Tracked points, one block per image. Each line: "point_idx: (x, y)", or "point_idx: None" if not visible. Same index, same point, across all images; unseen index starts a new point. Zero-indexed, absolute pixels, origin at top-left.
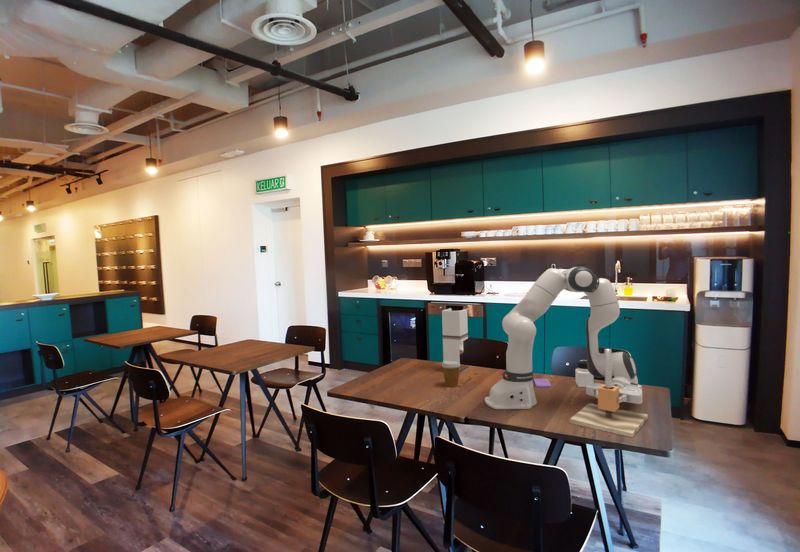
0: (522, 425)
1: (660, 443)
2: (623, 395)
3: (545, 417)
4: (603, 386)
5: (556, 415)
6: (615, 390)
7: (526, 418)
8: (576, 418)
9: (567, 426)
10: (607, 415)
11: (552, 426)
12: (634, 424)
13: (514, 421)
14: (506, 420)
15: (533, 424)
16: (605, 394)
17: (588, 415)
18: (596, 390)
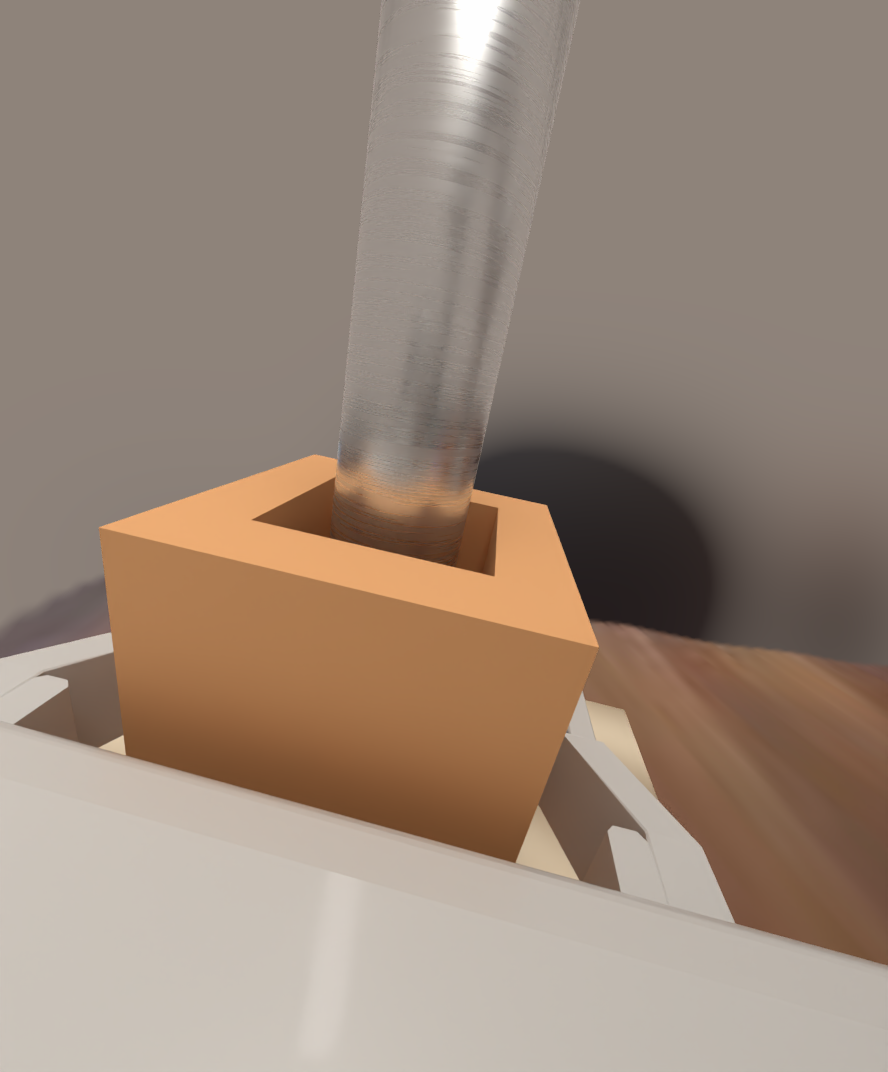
0: (739, 649)
1: (76, 604)
2: (37, 683)
3: (800, 778)
4: (504, 544)
5: (810, 860)
6: (293, 464)
7: (832, 725)
8: (597, 732)
9: (590, 683)
10: None
11: (645, 666)
12: (101, 747)
13: (809, 676)
14: (840, 678)
15: (723, 666)
16: None
17: (558, 846)
18: (716, 886)
